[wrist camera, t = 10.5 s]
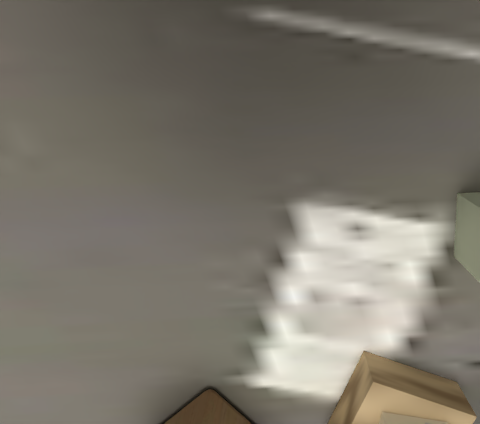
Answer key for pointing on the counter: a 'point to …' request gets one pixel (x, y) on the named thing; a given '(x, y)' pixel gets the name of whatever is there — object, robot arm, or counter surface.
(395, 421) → the cream block
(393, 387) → the oak base
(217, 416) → the wooden block
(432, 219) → the counter surface
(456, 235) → the sage block
